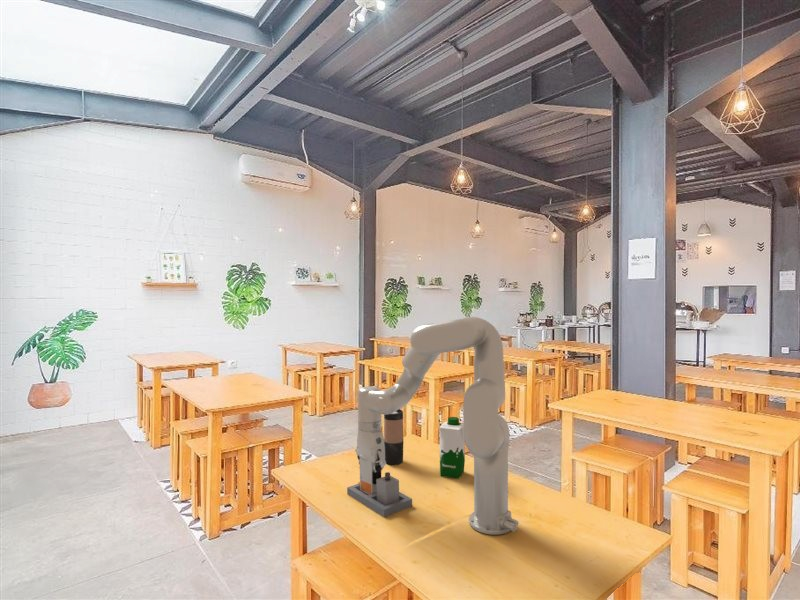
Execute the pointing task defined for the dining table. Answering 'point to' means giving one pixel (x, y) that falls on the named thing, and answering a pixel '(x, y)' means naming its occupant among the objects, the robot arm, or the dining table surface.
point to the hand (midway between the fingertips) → (370, 479)
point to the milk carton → (452, 448)
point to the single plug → (387, 489)
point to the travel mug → (393, 438)
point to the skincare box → (367, 476)
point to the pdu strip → (375, 505)
